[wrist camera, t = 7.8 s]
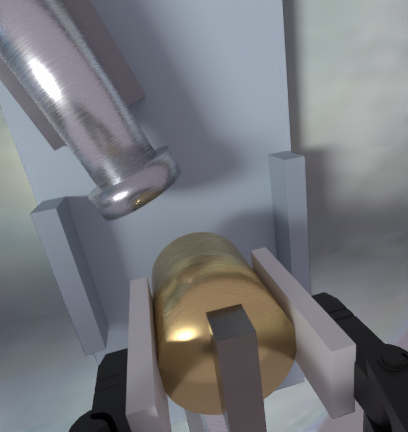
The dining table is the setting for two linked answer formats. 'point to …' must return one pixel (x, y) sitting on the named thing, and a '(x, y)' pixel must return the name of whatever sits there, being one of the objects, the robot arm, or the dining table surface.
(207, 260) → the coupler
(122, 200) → the shaft
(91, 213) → the bench
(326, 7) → the dining table surface
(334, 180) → the dining table surface
